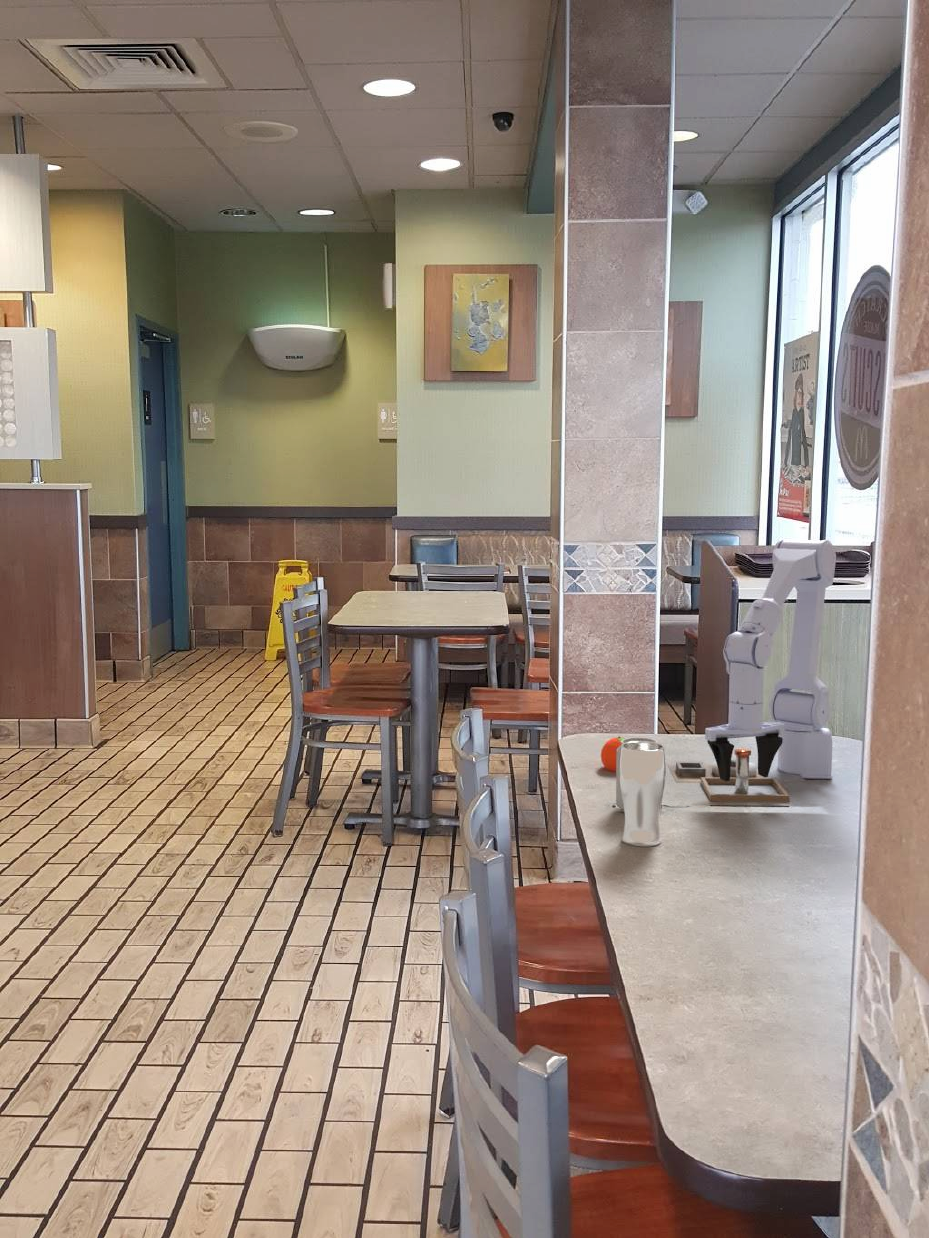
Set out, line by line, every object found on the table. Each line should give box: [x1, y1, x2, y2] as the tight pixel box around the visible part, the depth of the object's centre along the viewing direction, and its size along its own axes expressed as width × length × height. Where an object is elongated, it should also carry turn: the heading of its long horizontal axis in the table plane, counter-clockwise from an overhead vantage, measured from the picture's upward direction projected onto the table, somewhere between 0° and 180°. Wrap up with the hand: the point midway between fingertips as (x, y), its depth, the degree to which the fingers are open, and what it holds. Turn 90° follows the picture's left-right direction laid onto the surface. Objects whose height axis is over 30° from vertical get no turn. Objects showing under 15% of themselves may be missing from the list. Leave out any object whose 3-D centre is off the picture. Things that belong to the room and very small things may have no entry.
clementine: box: [600, 736, 626, 773], centre depth 212 cm, size 8×7×7 cm
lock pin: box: [733, 748, 752, 794], centre depth 196 cm, size 3×3×8 cm
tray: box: [700, 777, 790, 808], centre depth 196 cm, size 13×11×2 cm
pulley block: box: [667, 759, 763, 783], centre depth 208 cm, size 16×12×3 cm
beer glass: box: [620, 741, 666, 848], centre depth 172 cm, size 7×7×15 cm
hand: (743, 777), depth 196 cm, fingers open, 7 cm apart
